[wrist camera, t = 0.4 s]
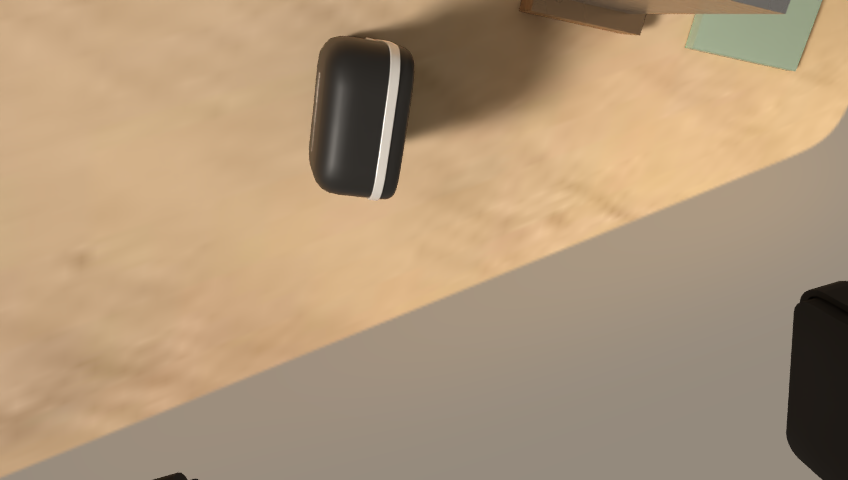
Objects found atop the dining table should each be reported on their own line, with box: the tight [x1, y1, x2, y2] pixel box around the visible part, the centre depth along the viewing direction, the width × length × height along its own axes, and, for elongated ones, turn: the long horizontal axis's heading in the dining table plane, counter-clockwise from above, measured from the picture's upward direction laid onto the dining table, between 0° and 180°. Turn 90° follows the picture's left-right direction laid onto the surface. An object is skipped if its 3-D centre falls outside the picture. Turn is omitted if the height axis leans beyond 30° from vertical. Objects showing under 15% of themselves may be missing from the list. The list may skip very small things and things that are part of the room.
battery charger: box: [309, 36, 414, 200], centre depth 30 cm, size 7×4×11 cm, turn 171°
